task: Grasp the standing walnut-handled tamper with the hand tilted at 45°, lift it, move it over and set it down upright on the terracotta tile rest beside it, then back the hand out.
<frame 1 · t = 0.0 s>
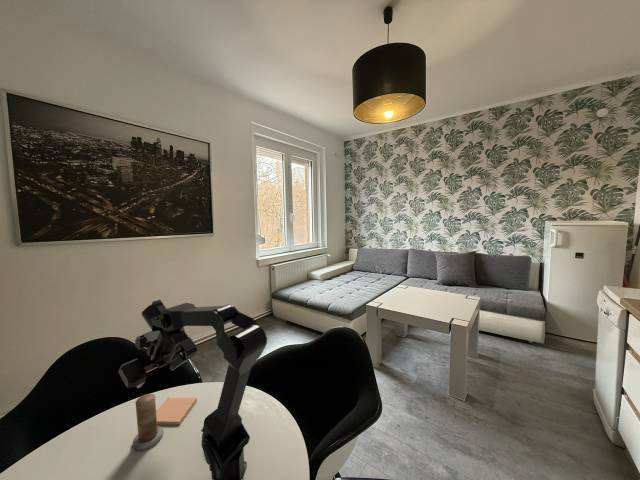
hand: (155, 377, 74), 15 cm above the table, fingers open, 9 cm apart
tile rest: (173, 411, 80), on the table
tape measure: (224, 437, 70), on the table
tamper: (148, 439, 70), on the table
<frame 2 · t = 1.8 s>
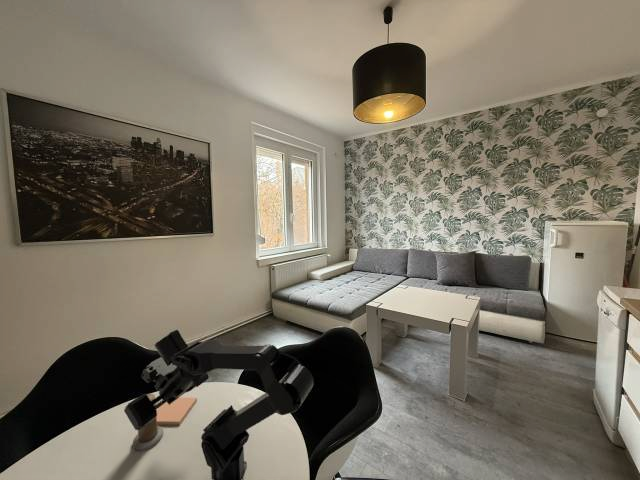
hand: (155, 406, 67), 11 cm above the table, fingers open, 9 cm apart
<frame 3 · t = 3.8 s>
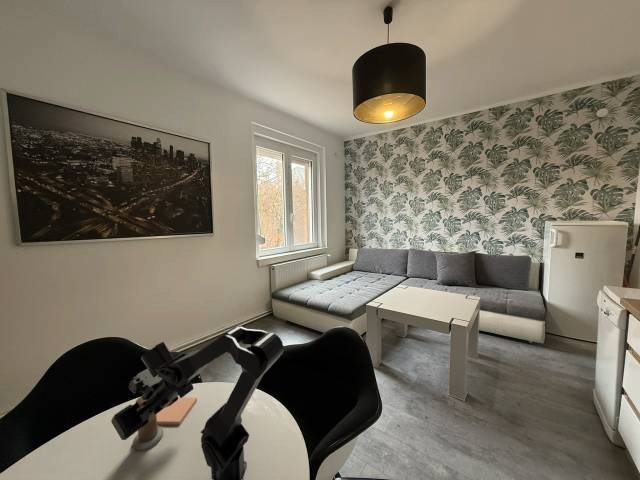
hand: (143, 415, 70), 7 cm above the table, fingers closed on tamper, 4 cm apart
tamper: (148, 439, 70), on the table, touching gripper
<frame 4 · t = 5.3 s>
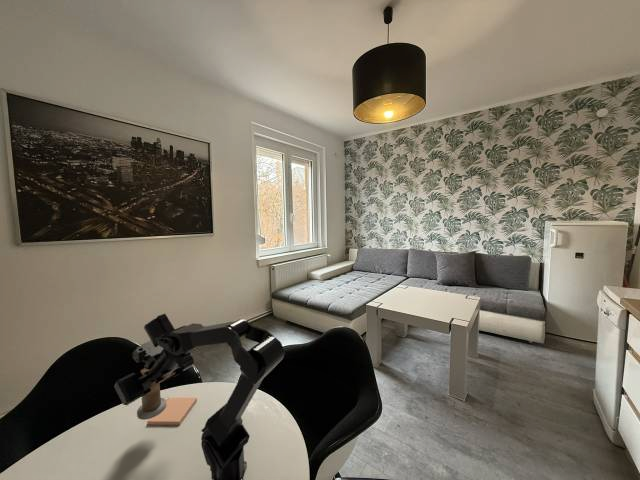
hand: (147, 386, 72), 14 cm above the table, fingers closed on tamper, 4 cm apart
tamper: (152, 409, 71), point 7 cm above the table, touching gripper
when the fingers open (9 cm above the table, at t = 7.3 s): tamper drops 1 cm, resting on tile rest.
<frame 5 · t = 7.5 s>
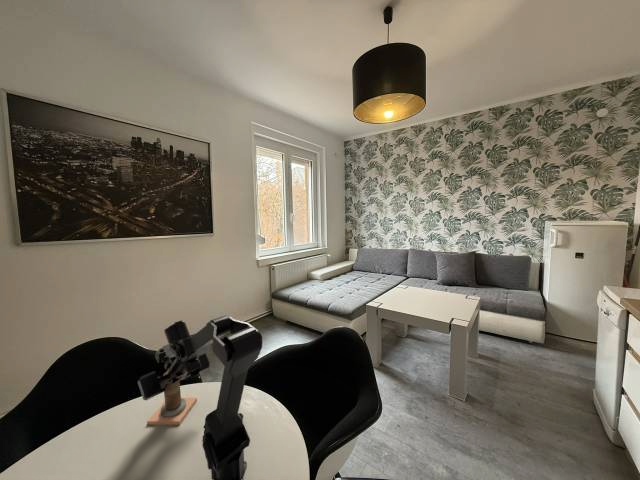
hand: (170, 383, 80), 9 cm above the table, fingers open, 6 cm apart
tamper: (173, 408, 80), point 1 cm above the table, touching tile rest
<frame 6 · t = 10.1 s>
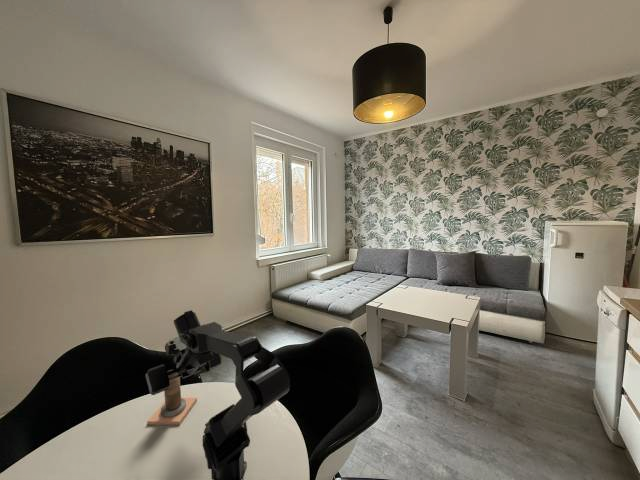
hand: (179, 380, 74), 13 cm above the table, fingers open, 9 cm apart
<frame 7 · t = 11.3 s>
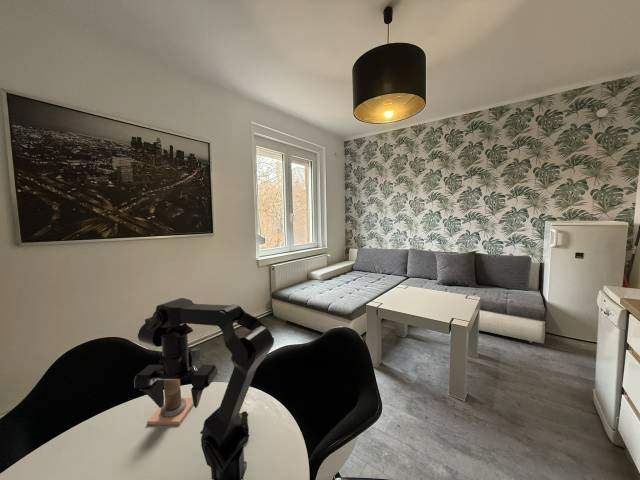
hand: (179, 406, 64), 13 cm above the table, fingers open, 9 cm apart
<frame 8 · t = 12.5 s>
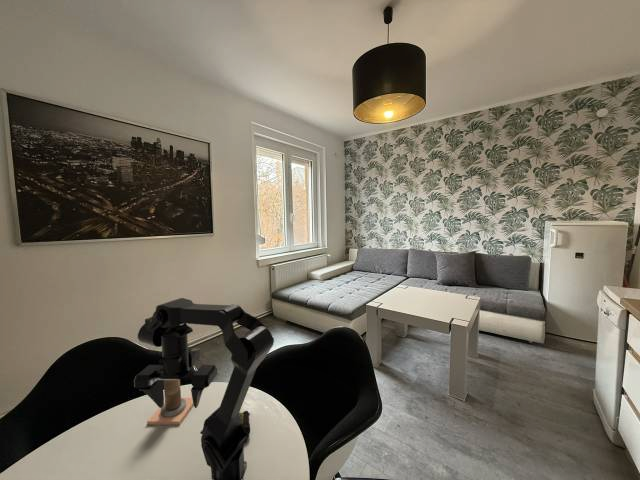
hand: (179, 406, 64), 13 cm above the table, fingers open, 9 cm apart
at the end: tamper inside the target area on the tile rest (0.1 cm from its centre), point 1.0 cm above the tile rest's base; tamper tilted 0°; the gripper is holding nothing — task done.
